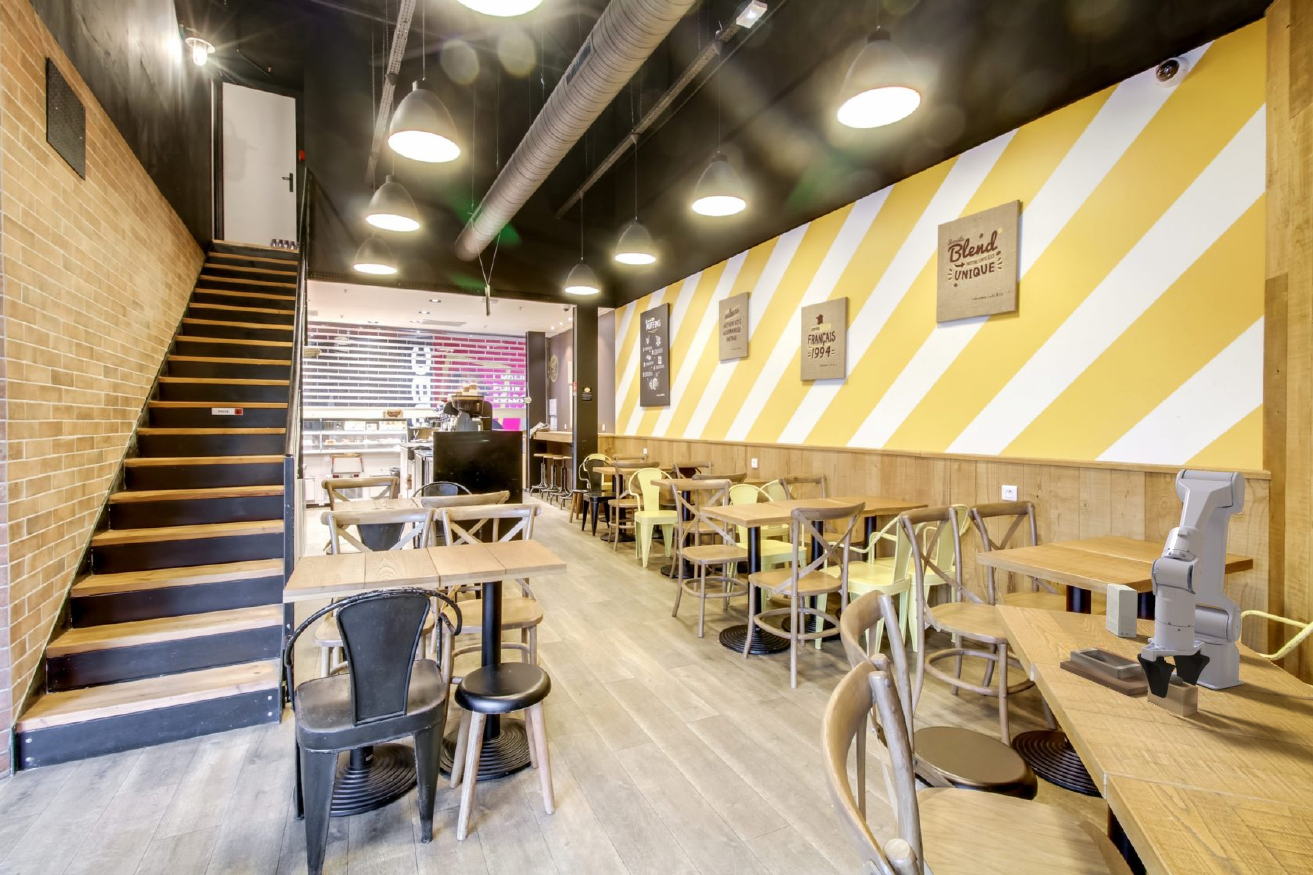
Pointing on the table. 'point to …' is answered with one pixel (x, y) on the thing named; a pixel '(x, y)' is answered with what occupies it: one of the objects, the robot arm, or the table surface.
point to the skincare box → (1121, 610)
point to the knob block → (1177, 697)
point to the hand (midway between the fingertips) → (1172, 692)
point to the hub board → (1108, 670)
